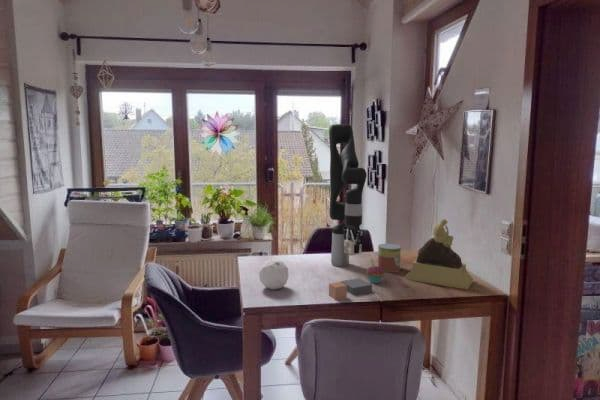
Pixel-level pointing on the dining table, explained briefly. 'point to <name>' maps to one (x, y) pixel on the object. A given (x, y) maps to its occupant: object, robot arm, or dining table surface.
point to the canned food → (389, 257)
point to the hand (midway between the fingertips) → (352, 251)
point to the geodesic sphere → (273, 274)
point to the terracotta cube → (337, 290)
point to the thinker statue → (440, 262)
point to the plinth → (357, 286)
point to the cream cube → (351, 247)
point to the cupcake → (375, 273)
